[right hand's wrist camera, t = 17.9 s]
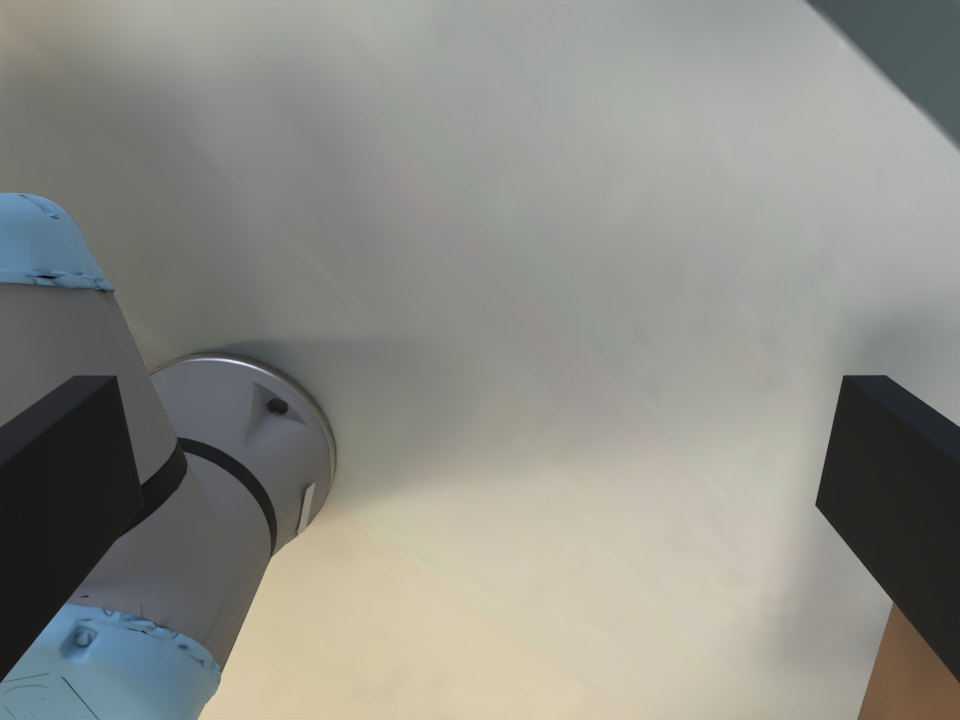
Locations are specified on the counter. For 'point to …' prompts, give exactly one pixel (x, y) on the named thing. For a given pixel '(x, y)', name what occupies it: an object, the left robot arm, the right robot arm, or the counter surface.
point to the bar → (909, 678)
